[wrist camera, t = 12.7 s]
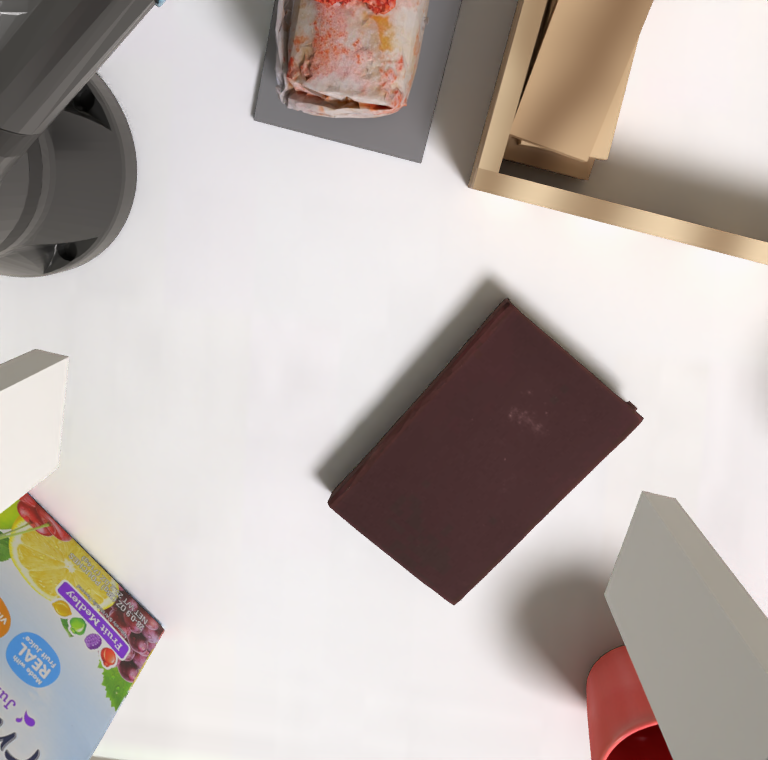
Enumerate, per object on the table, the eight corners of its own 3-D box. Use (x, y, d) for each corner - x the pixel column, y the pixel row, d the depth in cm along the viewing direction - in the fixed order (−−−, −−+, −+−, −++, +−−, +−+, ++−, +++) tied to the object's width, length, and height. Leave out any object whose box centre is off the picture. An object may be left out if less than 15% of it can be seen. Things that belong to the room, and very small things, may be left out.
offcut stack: (494, 157, 44) (502, 155, 40) (569, -109, 40) (586, -143, 36) (588, 181, 44) (606, 182, 40) (672, -81, 40) (702, -113, 36)
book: (329, 487, 52) (323, 507, 49) (504, 293, 47) (509, 301, 44) (455, 584, 54) (456, 609, 51) (636, 406, 49) (650, 422, 46)
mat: (255, 120, 45) (253, 120, 44) (306, -168, 40) (305, -171, 40) (421, 163, 45) (421, 163, 44) (491, -119, 40) (492, -122, 40)
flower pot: (653, 599, 53) (701, 690, 44) (732, 695, 55) (794, 801, 46) (539, 670, 55) (562, 771, 46) (619, 759, 57) (657, 872, 48)
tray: (467, 187, 45) (472, 188, 40) (561, -158, 39) (580, -204, 35) (887, 295, 45) (941, 309, 41) (1039, -31, 40) (1123, -58, 35)
